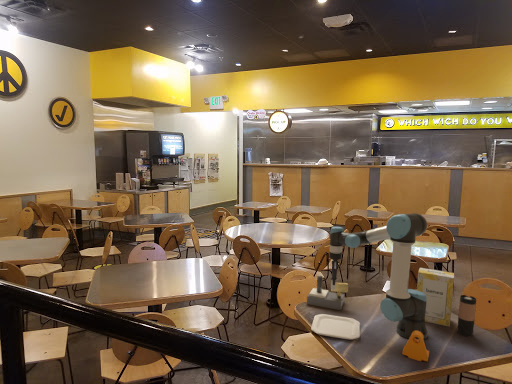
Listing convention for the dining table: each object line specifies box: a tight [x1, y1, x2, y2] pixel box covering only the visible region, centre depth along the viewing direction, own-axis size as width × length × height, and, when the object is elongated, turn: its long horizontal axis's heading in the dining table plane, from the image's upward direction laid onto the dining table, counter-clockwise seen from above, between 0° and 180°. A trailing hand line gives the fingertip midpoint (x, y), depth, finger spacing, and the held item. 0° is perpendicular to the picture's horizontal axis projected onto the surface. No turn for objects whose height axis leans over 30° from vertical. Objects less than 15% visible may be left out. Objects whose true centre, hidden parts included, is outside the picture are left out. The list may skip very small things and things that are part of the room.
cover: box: [308, 275, 330, 298], centre depth 233 cm, size 11×10×12 cm
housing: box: [306, 290, 345, 311], centre depth 232 cm, size 14×21×5 cm, turn 69°
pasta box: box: [416, 267, 455, 328], centre depth 213 cm, size 18×10×28 cm, turn 62°
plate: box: [310, 313, 361, 340], centre depth 197 cm, size 25×25×2 cm
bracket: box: [402, 331, 430, 362], centre depth 172 cm, size 11×7×12 cm, turn 60°
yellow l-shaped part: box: [330, 281, 349, 298], centre depth 232 cm, size 10×10×9 cm
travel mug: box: [457, 294, 477, 337], centre depth 197 cm, size 8×8×20 cm
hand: (333, 289), depth 226 cm, fingers closed
